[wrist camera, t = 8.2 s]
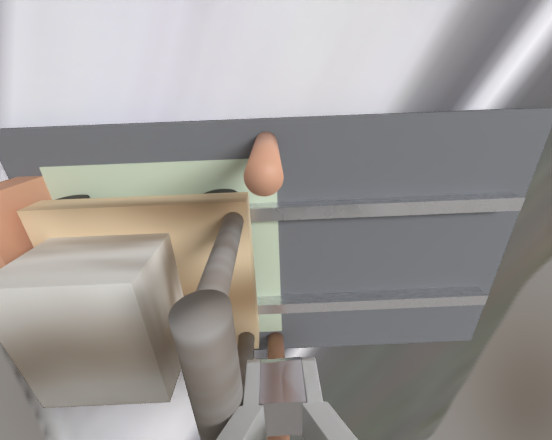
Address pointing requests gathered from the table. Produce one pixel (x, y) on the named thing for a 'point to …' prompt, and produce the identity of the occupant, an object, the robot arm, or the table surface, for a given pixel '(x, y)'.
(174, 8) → the table surface
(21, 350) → the tan box with handle
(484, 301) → the rails
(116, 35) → the table surface
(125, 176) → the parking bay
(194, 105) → the table surface
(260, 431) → the robot arm
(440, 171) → the dock mat
